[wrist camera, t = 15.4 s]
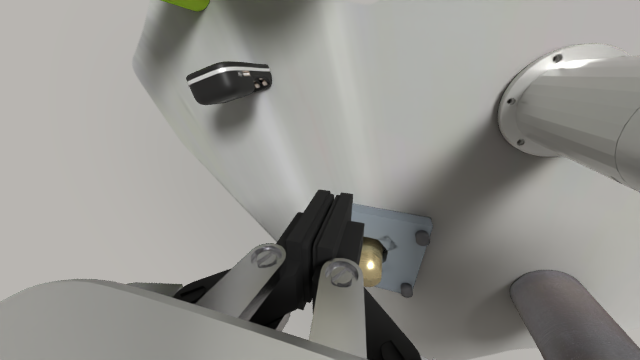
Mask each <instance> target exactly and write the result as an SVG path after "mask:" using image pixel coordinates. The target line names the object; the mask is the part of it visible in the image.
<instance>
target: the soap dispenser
mask: <svg viewBox="0 0 640 360" xmlns="http://www.w3.org/2000/svg"><path fill="white" fill-rule="evenodd" d="M162 1H165V2H168V3H171V4H174V5H177V6H180V7H183V8H187V9H190V10H193V11H202V10H204V9H205V8H206V7H207V5H208V4H209V1H210V0H162Z"/></svg>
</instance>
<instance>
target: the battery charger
mask: <svg viewBox="0 0 640 360" xmlns="http://www.w3.org/2000/svg"><path fill="white" fill-rule="evenodd" d="M186 79H187V84H188V86H189V87H190V89H191V91H192V93H193V96H194V98H195V99H196V101H197V102H198V103H200V104H202V105H212V104H221V103H226V102H228V101H231V100H234V99H237V98H240V97H243V96H246V95H249V94H251V93H253V92H256V91H259V90H262V89H264V88H267V87H269V86H271V84H272V77H271V73H270V69H269V67H268V65H266V64H253V63H244V62H220V63H216V64H213V65H211V66H208V67H206V68H203V69H201V70H199V71H196V72H194V73H192V74H190V75H188V76H187V77H186Z"/></svg>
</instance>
